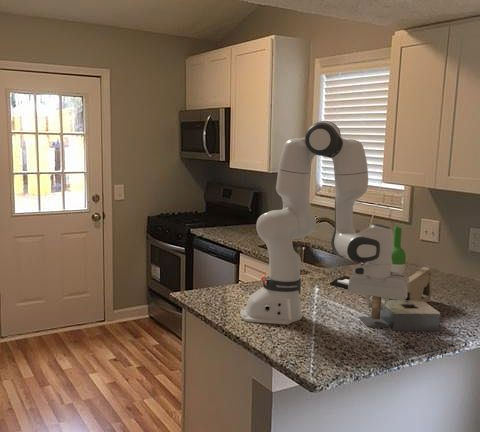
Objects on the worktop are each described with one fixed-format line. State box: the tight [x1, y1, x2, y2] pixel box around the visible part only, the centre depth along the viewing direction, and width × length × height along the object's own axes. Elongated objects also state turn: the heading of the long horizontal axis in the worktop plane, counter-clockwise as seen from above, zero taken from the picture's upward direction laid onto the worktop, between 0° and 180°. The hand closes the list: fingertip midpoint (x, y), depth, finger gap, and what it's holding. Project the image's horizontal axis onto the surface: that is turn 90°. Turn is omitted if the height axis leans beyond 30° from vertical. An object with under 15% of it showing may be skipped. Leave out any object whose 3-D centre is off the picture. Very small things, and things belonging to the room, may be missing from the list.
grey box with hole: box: [380, 299, 441, 332], centre depth 185 cm, size 16×14×6 cm
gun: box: [405, 266, 433, 303], centre depth 204 cm, size 24×3×15 cm, turn 141°
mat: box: [358, 315, 390, 328], centre depth 185 cm, size 8×10×1 cm
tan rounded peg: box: [370, 296, 382, 319], centre depth 184 cm, size 3×3×8 cm
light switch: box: [329, 275, 350, 290], centre depth 232 cm, size 20×3×14 cm
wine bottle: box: [389, 226, 407, 300], centre depth 212 cm, size 8×8×30 cm
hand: (376, 308), depth 184 cm, fingers closed on tan rounded peg, 3 cm apart
